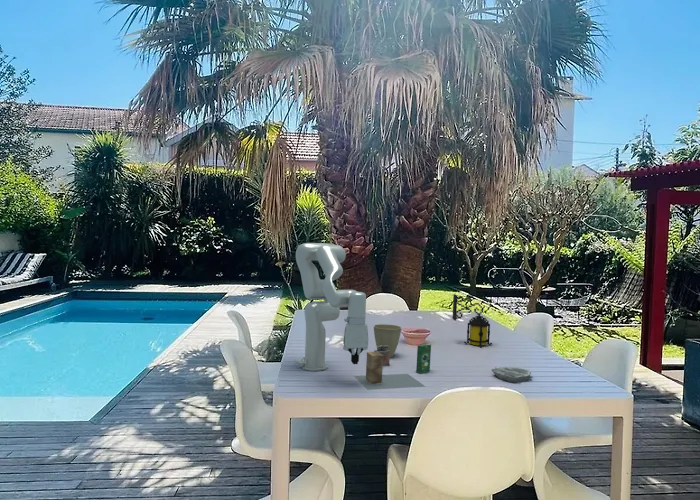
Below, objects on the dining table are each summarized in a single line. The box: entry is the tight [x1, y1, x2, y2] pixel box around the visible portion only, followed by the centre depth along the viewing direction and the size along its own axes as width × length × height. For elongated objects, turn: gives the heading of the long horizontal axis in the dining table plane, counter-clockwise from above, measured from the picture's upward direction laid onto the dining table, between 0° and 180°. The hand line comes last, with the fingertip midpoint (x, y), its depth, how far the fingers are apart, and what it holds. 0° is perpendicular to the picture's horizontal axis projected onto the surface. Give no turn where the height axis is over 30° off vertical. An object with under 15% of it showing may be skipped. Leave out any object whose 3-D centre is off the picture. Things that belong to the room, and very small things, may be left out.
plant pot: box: [373, 323, 402, 358], centre depth 274 cm, size 15×15×16 cm
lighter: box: [373, 345, 391, 367], centre depth 255 cm, size 8×3×10 cm, turn 105°
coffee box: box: [415, 343, 432, 374], centre depth 246 cm, size 8×3×13 cm, turn 137°
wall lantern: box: [452, 293, 493, 349], centre depth 312 cm, size 17×24×30 cm
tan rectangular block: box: [365, 351, 384, 384], centre depth 223 cm, size 5×7×12 cm
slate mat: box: [353, 373, 426, 391], centre depth 225 cm, size 26×20×1 cm
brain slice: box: [491, 366, 532, 383], centre depth 242 cm, size 20×17×3 cm
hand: (354, 363), depth 220 cm, fingers closed
